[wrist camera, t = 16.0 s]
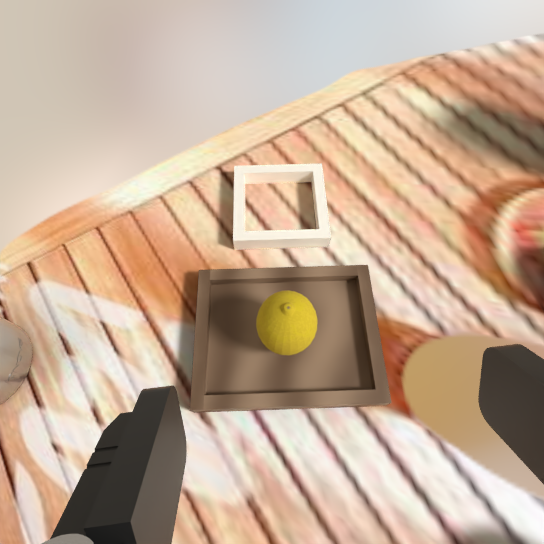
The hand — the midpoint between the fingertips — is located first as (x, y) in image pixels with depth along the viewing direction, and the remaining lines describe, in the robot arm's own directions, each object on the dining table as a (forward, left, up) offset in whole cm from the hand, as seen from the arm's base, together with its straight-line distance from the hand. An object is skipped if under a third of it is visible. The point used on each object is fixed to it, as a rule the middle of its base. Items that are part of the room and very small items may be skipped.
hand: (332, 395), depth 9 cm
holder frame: (0, +26, -27) cm, 37 cm away
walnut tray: (0, +10, -27) cm, 28 cm away
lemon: (0, +9, -26) cm, 28 cm away
